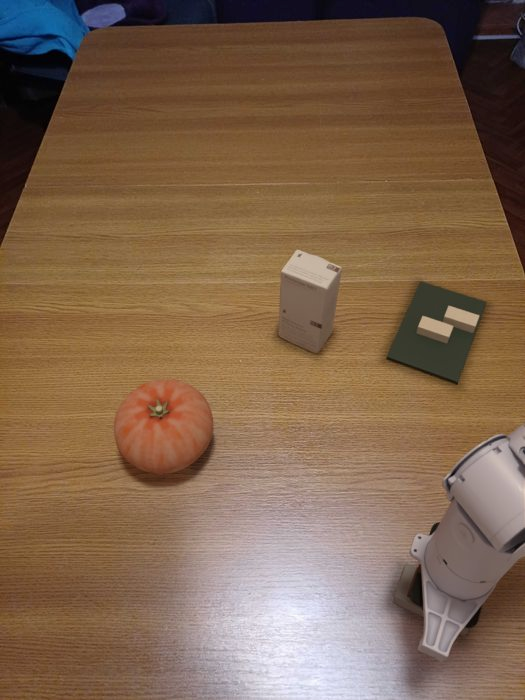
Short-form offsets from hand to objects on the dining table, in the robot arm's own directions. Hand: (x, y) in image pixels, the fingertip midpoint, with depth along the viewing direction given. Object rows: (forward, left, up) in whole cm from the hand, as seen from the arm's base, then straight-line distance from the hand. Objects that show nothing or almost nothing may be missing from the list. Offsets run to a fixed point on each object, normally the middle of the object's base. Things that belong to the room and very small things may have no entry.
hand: (437, 594), depth 57 cm
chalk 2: (+7, -34, -2) cm, 35 cm away
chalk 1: (+9, -31, -2) cm, 33 cm away
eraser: (0, 0, -2) cm, 2 cm away
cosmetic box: (+24, -25, -3) cm, 35 cm away
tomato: (+32, -4, -3) cm, 32 cm away
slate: (+9, -32, -2) cm, 34 cm away
